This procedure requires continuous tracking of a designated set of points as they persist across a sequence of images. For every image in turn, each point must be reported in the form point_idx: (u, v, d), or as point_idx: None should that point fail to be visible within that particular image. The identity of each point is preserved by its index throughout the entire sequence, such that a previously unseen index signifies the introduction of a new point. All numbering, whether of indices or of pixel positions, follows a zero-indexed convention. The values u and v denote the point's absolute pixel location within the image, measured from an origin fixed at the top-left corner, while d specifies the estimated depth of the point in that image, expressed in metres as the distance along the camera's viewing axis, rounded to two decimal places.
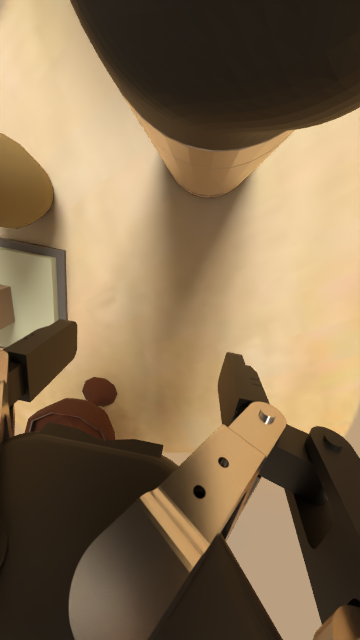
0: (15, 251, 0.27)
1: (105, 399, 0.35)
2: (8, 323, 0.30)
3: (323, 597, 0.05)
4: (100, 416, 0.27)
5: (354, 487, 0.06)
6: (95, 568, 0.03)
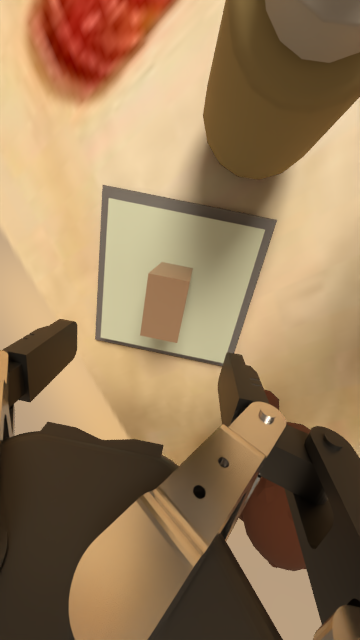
0: None
1: None
2: None
3: (323, 597, 0.05)
4: None
5: (354, 487, 0.06)
6: (95, 568, 0.03)
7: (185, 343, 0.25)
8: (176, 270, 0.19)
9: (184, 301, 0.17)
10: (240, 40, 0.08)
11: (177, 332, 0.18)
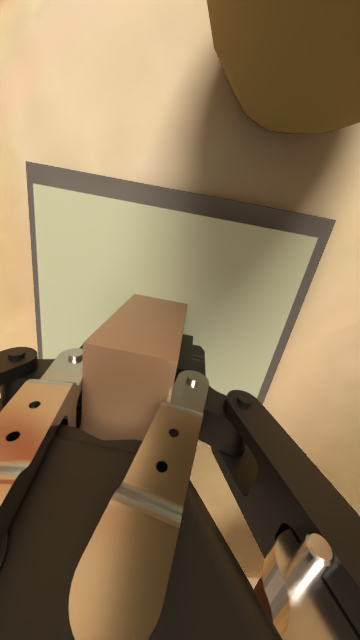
0: None
1: None
2: None
3: (259, 531, 0.06)
4: None
5: (266, 433, 0.07)
6: (95, 568, 0.03)
7: None
8: (155, 317, 0.10)
9: None
10: None
11: None
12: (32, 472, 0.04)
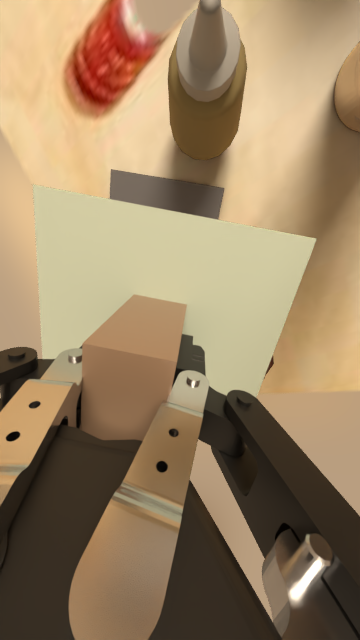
0: None
1: None
2: None
3: (259, 531, 0.06)
4: None
5: (266, 433, 0.07)
6: (95, 568, 0.03)
7: None
8: (154, 317, 0.10)
9: (166, 399, 0.08)
10: (174, 92, 0.19)
11: None
12: (32, 473, 0.04)
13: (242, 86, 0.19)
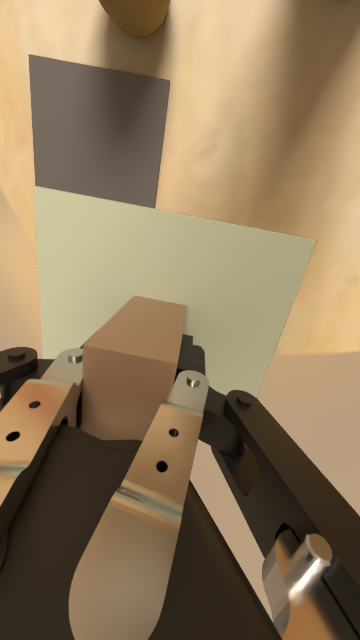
0: None
1: None
2: None
3: (259, 531, 0.06)
4: None
5: (266, 433, 0.07)
6: (95, 568, 0.03)
7: None
8: (155, 319, 0.10)
9: None
10: None
11: None
12: (32, 472, 0.04)
13: None
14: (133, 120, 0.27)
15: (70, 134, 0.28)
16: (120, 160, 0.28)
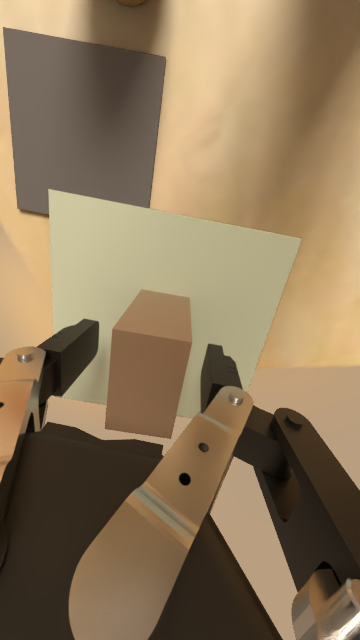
0: None
1: None
2: None
3: (296, 564, 0.06)
4: None
5: (315, 460, 0.06)
6: (95, 568, 0.03)
7: (181, 401, 0.17)
8: (165, 308, 0.11)
9: (182, 375, 0.09)
10: None
11: (170, 423, 0.10)
12: (14, 465, 0.05)
13: None
14: (124, 104, 0.23)
15: (53, 120, 0.24)
16: (110, 150, 0.25)
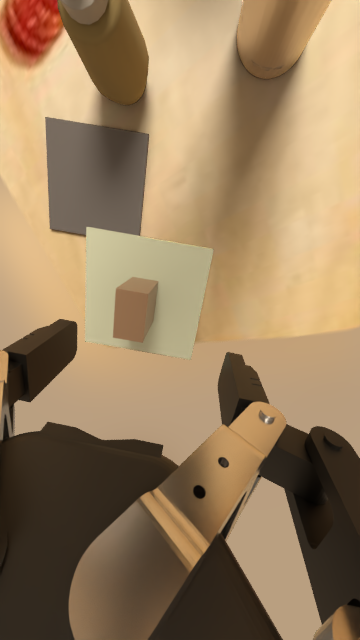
0: (172, 242, 0.25)
1: None
2: (151, 322, 0.27)
3: (323, 597, 0.05)
4: None
5: (354, 487, 0.06)
6: (95, 568, 0.03)
7: (157, 344, 0.29)
8: (142, 284, 0.24)
9: (145, 309, 0.21)
10: (63, 19, 0.22)
11: (142, 334, 0.22)
12: None
13: (120, 12, 0.22)
14: (122, 161, 0.36)
15: (75, 172, 0.37)
16: (113, 190, 0.37)
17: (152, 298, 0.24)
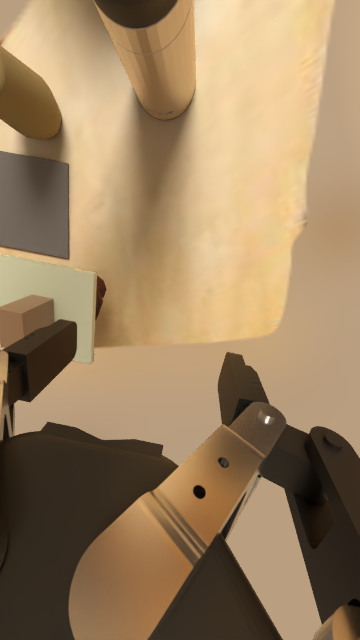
0: (61, 267, 0.30)
1: None
2: None
3: (323, 597, 0.05)
4: None
5: (354, 487, 0.06)
6: (95, 568, 0.03)
7: None
8: (30, 302, 0.28)
9: (22, 325, 0.26)
10: None
11: None
12: None
13: (5, 78, 0.26)
14: (47, 186, 0.40)
15: (7, 194, 0.41)
16: (41, 211, 0.42)
17: (39, 314, 0.29)
